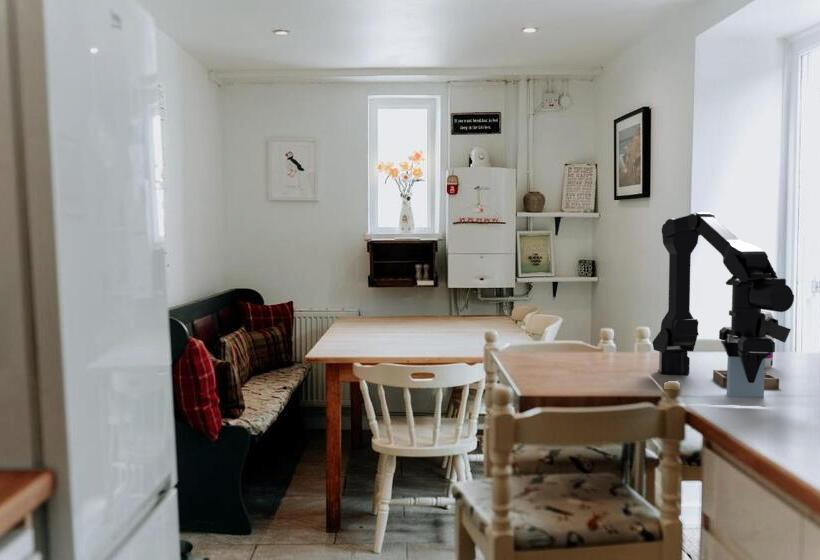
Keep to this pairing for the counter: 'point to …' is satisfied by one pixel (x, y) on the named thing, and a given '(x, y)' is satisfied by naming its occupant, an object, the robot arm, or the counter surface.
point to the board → (743, 380)
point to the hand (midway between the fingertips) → (744, 378)
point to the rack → (769, 380)
